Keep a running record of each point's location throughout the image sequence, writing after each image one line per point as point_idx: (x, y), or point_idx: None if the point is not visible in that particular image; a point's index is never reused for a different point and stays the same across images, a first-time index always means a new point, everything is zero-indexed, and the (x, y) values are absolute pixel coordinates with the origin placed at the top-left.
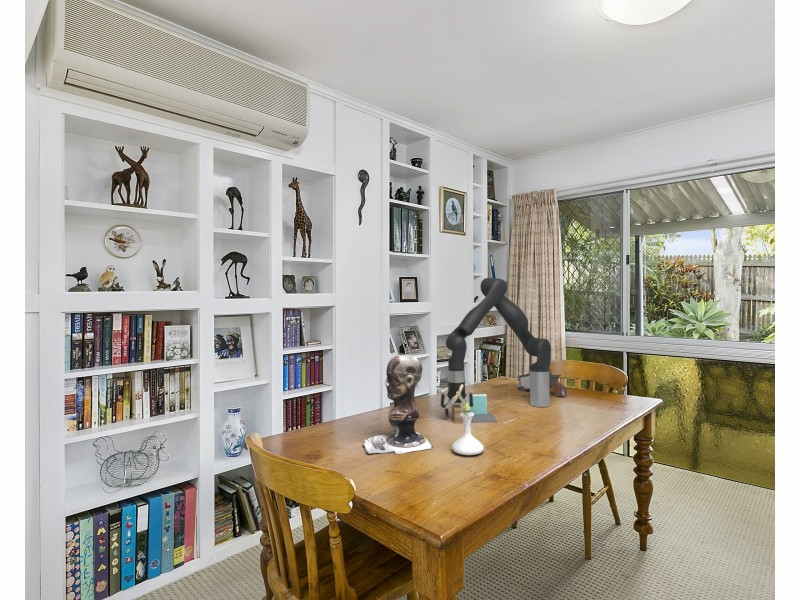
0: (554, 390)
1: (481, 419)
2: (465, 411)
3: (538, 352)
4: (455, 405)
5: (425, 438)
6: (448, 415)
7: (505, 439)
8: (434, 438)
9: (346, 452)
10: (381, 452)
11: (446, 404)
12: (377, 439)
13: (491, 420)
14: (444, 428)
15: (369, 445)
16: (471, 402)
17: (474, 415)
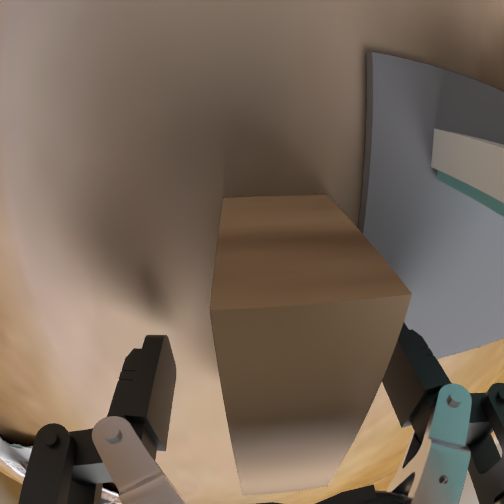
0: None
1: (468, 321)
2: (401, 353)
3: None
4: (294, 383)
5: None
6: (173, 385)
7: (395, 473)
8: None
9: (3, 464)
10: None
11: (118, 468)
12: (11, 464)
13: (498, 334)
14: (168, 441)
15: (17, 470)
16: (479, 466)
17: (479, 205)
